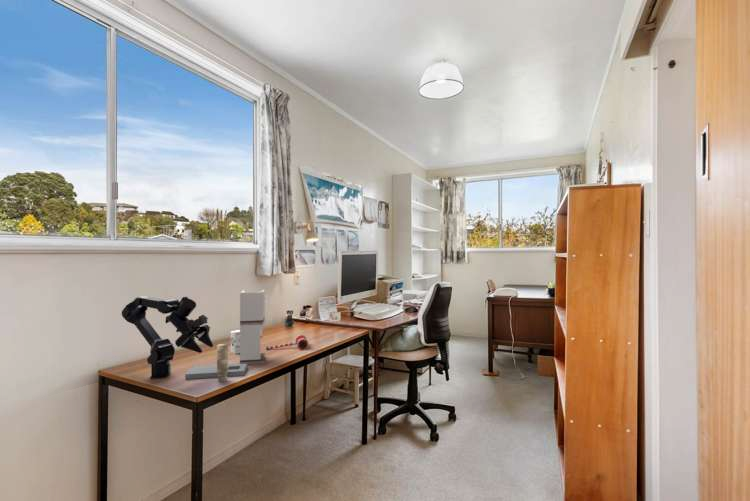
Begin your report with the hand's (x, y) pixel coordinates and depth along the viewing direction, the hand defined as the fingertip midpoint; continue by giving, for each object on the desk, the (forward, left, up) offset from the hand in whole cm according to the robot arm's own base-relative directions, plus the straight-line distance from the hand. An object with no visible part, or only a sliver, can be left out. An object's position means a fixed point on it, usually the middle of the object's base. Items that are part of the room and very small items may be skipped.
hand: (207, 349), depth 158 cm
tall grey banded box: (+16, +25, -13) cm, 33 cm away
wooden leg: (+7, -2, -13) cm, 15 cm away
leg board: (+3, +8, -13) cm, 16 cm away
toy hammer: (+34, +46, -14) cm, 59 cm away
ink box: (+7, +43, -13) cm, 46 cm away
